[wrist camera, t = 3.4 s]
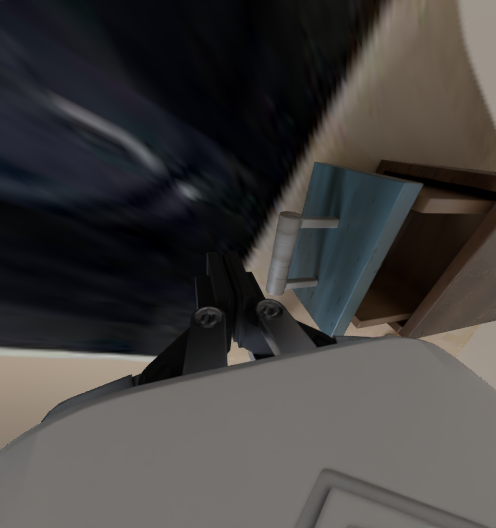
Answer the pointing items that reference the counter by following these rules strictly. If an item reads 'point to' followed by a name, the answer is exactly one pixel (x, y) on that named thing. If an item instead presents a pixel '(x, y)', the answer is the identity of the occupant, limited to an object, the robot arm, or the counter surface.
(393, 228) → the drawer
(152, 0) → the counter surface
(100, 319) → the counter surface
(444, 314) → the cabinet
